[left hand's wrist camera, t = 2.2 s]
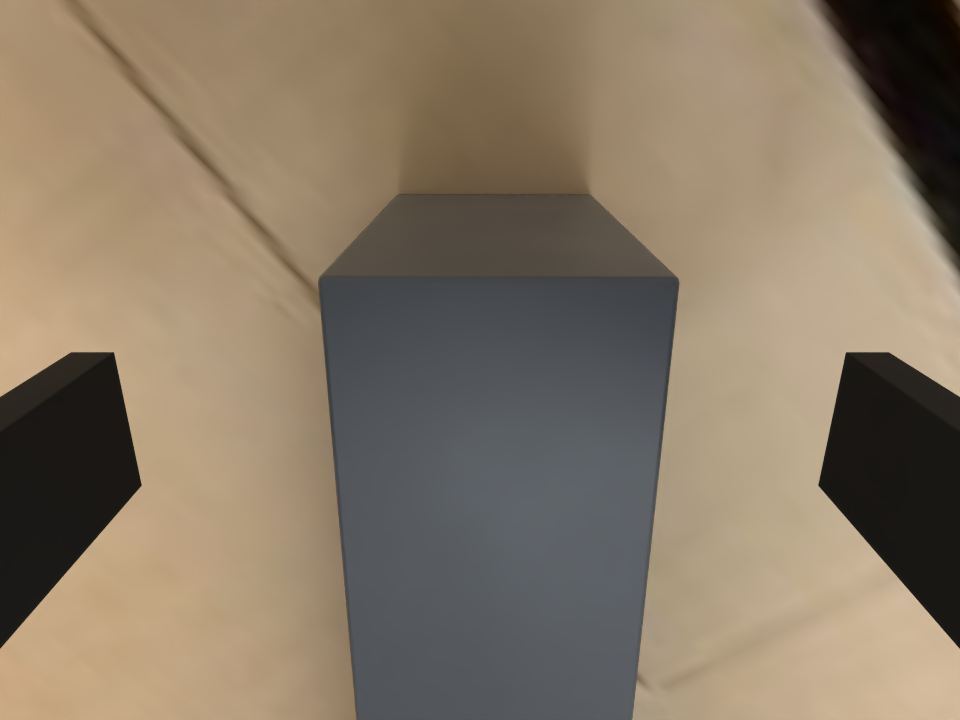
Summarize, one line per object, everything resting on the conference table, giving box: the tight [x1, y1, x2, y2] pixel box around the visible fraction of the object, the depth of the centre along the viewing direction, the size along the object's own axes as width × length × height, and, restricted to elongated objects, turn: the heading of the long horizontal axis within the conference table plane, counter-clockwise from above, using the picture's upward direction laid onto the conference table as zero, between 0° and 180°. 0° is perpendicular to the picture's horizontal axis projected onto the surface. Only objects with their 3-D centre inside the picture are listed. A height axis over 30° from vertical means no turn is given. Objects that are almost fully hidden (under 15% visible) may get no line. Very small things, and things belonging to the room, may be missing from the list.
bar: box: [318, 194, 679, 720], centre depth 17 cm, size 24×5×8 cm, turn 0°
